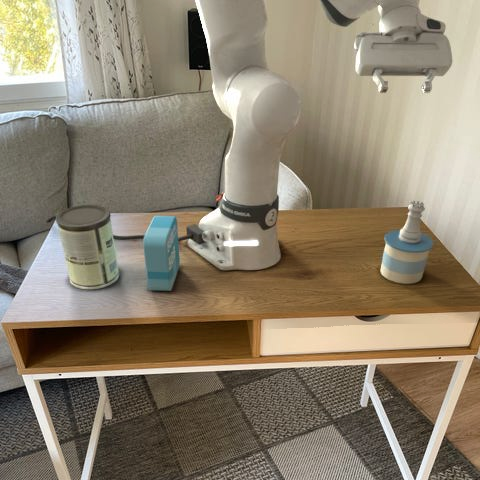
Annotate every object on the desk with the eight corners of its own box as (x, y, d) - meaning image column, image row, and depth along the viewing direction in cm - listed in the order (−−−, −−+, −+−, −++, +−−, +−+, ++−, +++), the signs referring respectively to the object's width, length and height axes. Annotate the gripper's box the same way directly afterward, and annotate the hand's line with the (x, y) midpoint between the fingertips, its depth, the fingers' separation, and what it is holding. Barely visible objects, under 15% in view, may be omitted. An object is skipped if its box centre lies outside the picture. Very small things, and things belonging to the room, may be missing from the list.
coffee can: (71, 267, 109) (58, 205, 101) (119, 263, 110) (111, 203, 102) (66, 292, 101) (52, 227, 92) (118, 288, 102) (109, 224, 94)
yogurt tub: (369, 273, 108) (375, 240, 104) (392, 257, 114) (399, 225, 109) (411, 290, 103) (419, 255, 98) (432, 272, 109) (441, 239, 104)
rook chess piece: (394, 240, 103) (402, 204, 99) (402, 233, 106) (410, 197, 102) (415, 246, 101) (424, 209, 97) (423, 238, 104) (432, 202, 100)
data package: (170, 294, 101) (166, 240, 94) (148, 293, 101) (142, 239, 94) (180, 264, 110) (176, 213, 103) (159, 263, 110) (155, 213, 103)
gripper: (357, 22, 106) (361, 81, 103) (452, 23, 106) (458, 82, 104) (350, 43, 112) (353, 100, 110) (440, 43, 113) (445, 100, 110)
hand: (405, 91), depth 107 cm, fingers open, 8 cm apart
